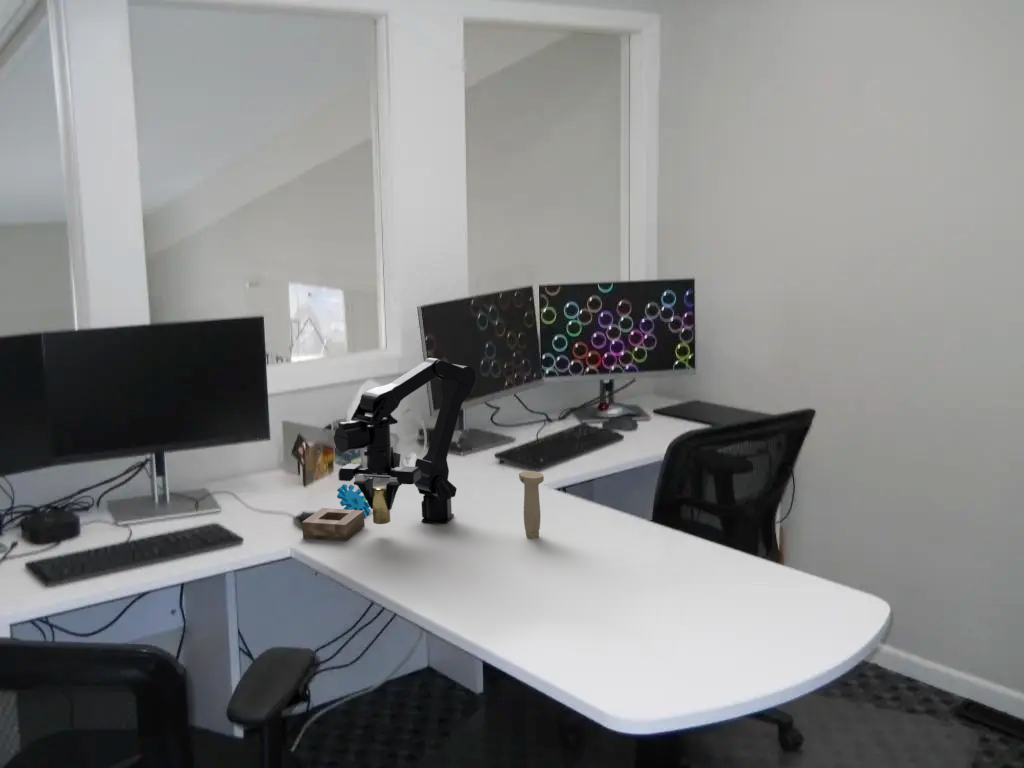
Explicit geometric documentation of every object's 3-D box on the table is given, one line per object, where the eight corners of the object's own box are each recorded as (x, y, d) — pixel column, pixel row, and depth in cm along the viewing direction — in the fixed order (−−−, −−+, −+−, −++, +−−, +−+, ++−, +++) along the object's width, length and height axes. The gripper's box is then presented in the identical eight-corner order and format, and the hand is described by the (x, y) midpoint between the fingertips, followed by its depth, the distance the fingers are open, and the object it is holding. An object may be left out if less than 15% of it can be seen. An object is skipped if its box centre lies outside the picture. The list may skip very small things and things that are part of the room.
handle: (531, 542, 230) (530, 479, 227) (516, 534, 235) (514, 473, 233) (548, 538, 233) (547, 475, 230) (533, 530, 238) (532, 470, 235)
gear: (354, 516, 246) (333, 484, 249) (340, 531, 249) (319, 499, 252) (381, 510, 256) (360, 479, 259) (367, 524, 258) (347, 493, 261)
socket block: (364, 526, 244) (363, 510, 243) (346, 541, 234) (345, 524, 233) (323, 523, 247) (322, 508, 246) (303, 538, 236) (302, 522, 236)
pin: (392, 519, 238) (391, 486, 236) (386, 524, 234) (385, 491, 233) (377, 518, 239) (375, 486, 237) (370, 523, 235) (369, 490, 234)
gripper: (427, 438, 238) (430, 501, 241) (355, 435, 243) (358, 496, 246) (411, 449, 228) (414, 515, 231) (335, 446, 232) (339, 510, 235)
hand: (381, 508), depth 236 cm, fingers closed on pin, 4 cm apart
